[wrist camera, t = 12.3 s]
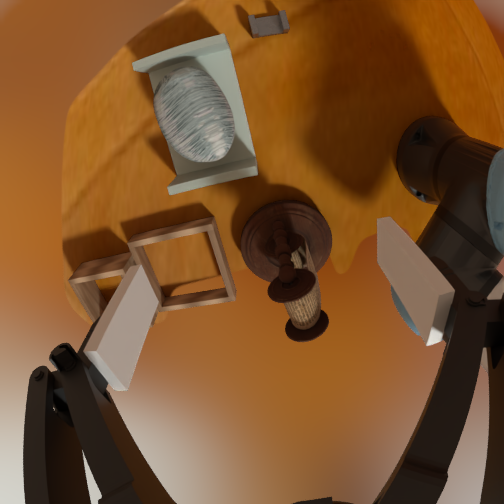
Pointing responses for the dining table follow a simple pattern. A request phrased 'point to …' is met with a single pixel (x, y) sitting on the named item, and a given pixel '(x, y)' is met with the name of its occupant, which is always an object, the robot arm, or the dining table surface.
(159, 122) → the grey oval rock
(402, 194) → the dining table surface
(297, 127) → the dining table surface
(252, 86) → the dining table surface
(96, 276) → the frame
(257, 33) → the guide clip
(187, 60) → the holder
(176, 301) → the frame
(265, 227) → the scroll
